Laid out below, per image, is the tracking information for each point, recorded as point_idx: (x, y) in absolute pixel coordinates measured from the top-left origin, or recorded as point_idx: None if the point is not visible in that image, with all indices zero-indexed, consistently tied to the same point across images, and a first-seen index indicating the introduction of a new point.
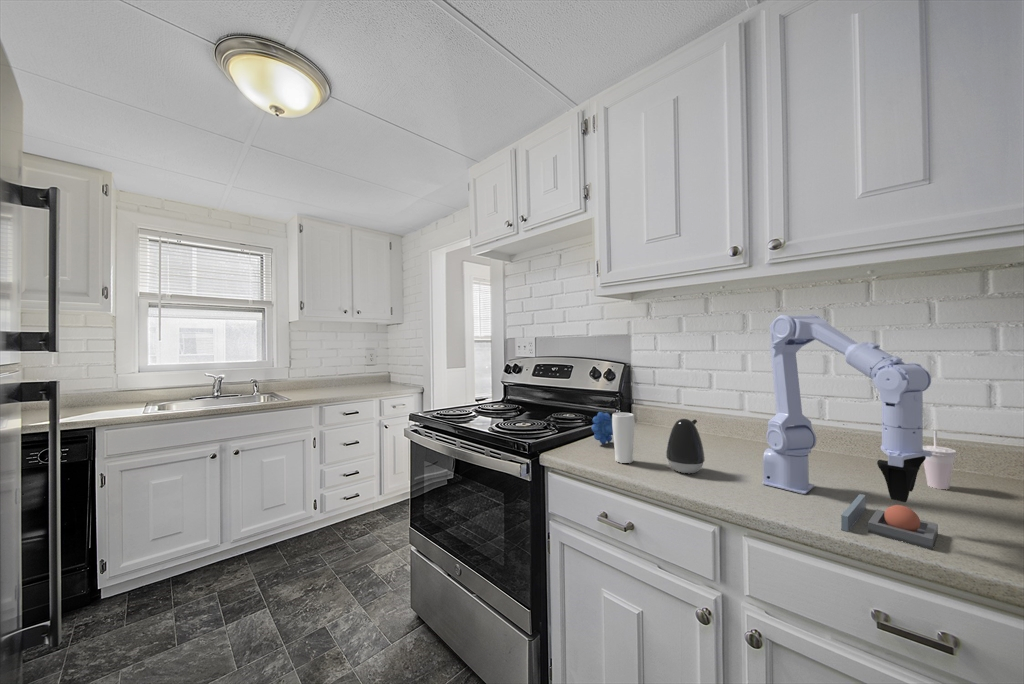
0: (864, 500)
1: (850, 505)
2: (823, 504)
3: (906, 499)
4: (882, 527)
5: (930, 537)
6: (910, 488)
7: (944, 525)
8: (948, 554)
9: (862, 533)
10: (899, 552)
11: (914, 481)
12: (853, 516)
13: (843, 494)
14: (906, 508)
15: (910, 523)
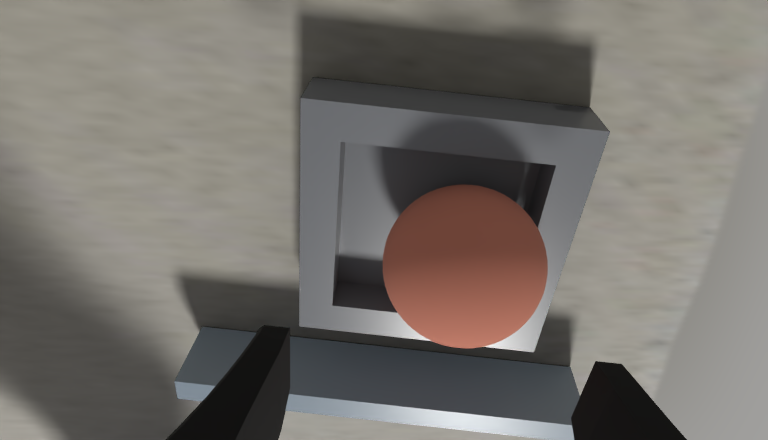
0: (210, 367)
1: (408, 422)
2: (294, 432)
3: (633, 381)
4: (546, 304)
5: (585, 139)
6: (285, 353)
7: (118, 40)
8: (602, 44)
9: (550, 329)
10: (704, 222)
11: (262, 392)
12: (464, 385)
13: (82, 389)
14: (486, 299)
15: (541, 239)
